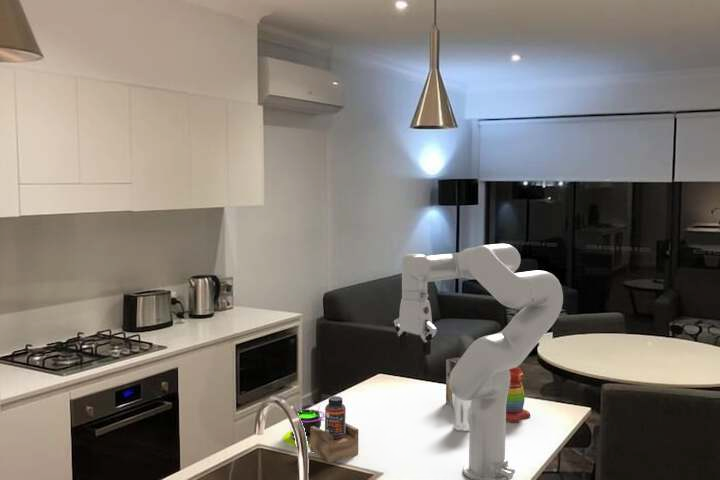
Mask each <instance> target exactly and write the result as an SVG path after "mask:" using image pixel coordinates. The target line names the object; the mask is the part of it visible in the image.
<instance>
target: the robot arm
mask: <svg viewBox="0 0 720 480" xmlns="http://www.w3.org/2000/svg"><path fill="white" fill-rule="evenodd" d="M521 260H522V259H521V254H520V253H519V251H518V249H517V248H516V247H514V246H513V245H511V244H508V243H493V244H492V243H491V244H483V245H479V246H475V247H467V248H464V249H463V250H461V251H460V252H459V251H458V252H452V253H443V254H441V253H440V254H432V255H425V254H422V253H407V254H404V255H403V256H402V258H401V299H400V304H399V316H398V318H395V319H394V320H393V323H394V327H395V331H396V333H397V336H398V349H399V350H406V349H408V348H409V335H408V333H409V334H414V335H418V336H420V338H421V340H422V341H421V356H423V357H424V356H428V355H431V352H432V351H431V349H432V345H431V344H432V342H433V340H434V338H435V337H436V333H437V331H438V329H437V327H436V326H435V325H434V324H433V319H432V308H431V303H430V301H429V300H428V298H429V296H430V294H429V293H428V283H430V282H438V281H439V282H440V281H443V280H444V281H448V280H454V279H464V278H466V279H467V280H477V282H478V283H479V284H480V285H481V286H482V287H483V288H484V289H485V290H487V292H489V294H491V296H492V297H493V298H494V299H496V301H498V302H499V303H500V304H501V305H503V307H507V308H508V309H521V310H519V311H518V312H517V313H516V314H515V315H514V316H513V317H512V318H511V320H510V321H509V323H508V324H507V325H505V327H504V328H503V329H502V330H501V331H499V332H496V333H494V334H489V335H484V336H481V337H479V338H477V339H476V340H474V341H473V342H471V344H470V345H469V346H468V347H467V349H466V350H465V351H464V353H463V354H462V355H461V356H460V357H461V358H460V360H459V361H458V362H457V364H456V365H455V366H454V368H453V370H452V372H451V374H450V381H449V382H450V388H451V391H452V393H453V394H454V395H455V396H456V397H457V398H459V399H461V400H466V401H468V400H472V401H471V405H470V429H469V431H468V434H469V436H468V438H469V439H468V440H469V441H468V443H469V445H468V461H467V462H466V463H464V464H463V466H462V472H463V474H464V476H466V477H467V478H468V479H470V480H512V479H513V477H514V474H515V472H516V470H515V469H514V468H512V467H509V460H508V459H506V456H505V455H506V427H507V426H506V425H507V424H506V423H507V421H506V402H507V395H508V390H509V386H510V371H509V369H512V368H515V367H517V366H518V367H520V365H521V364H522V363H523V362H524V360H525V359H526V358H527V357H528V356H529V354H530V353H531V352H532V351H533V349H535V347H536V346H537V345H538V343H539V342H540V340H541V339H542V338H543V337H544V336H545V335H546V333H547V332H548V331H549V330H550V328H552V326H553V325H554V324H555V322H556V321H557V319H558V317H559V316H560V313H561V312H562V308H563V304H564V293H563V289H562V284H561V283H560V280H559V279H558V278H557V277H556V276H555V274H553V273H551V272H548V271H545V270H529V271H522V272H521V271H520V272H516V271H517V270H518V269H519V267H520V264H521V262H522V261H521Z"/></svg>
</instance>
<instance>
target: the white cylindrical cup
mask: <svg viewBox="0 0 720 480" xmlns="http://www.w3.org/2000/svg"><path fill="white" fill-rule="evenodd" d="M452 399H453V406H452V407H453V410H454V411H453V413H454V421H453V425H452V427H453V430H455V431H457V432H469V429H470V405H471V401H472V400H468V401H466V400H461V399H459V398H457V397H456V396H455V395H454V394H453V393H452Z"/></svg>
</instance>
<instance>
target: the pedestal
mask: <svg viewBox="0 0 720 480" xmlns="http://www.w3.org/2000/svg"><path fill="white" fill-rule="evenodd" d="M323 430H324V429H322V430H321V428H320V429H319V428H317V427H315V426H311V427H310V447H309V448H310V450H309V451H310V452H311V451H312V452H314V453H315V454H314V453H313V454H314V455H316V454H317V455H318V456H317V455H316V456H317V457H319V456H320V458H321V459H322V460H325V461H326V462H328V463H334V462H337V461H341V460H344V459H347V458H350V457H353V456H357V455H359V428H357V427H355V426H353V425H350V424H349V423H347V422H345V436H344V437H343V438H341V439H333V436H332V435H330V434H328V433H326V432H325V431H323ZM312 452H311V453H312Z"/></svg>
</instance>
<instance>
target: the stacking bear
mask: <svg viewBox="0 0 720 480" xmlns="http://www.w3.org/2000/svg"><path fill="white" fill-rule="evenodd" d="M509 371H510V386H509V390H508V395H507V402H506V423H507V422H508V423H512V424H516V423H518V422H519V421H520V420H523V419H528V418H531V413H530V411H528V410H526V409H525V408H524V404H525V399H526V396H525V391H524V386H523V383H522V379H523V377H524V372H523V371H522V369H521V367H520V366H517V367H515V368H512V369H509Z"/></svg>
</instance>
